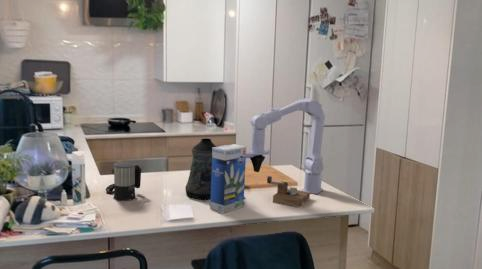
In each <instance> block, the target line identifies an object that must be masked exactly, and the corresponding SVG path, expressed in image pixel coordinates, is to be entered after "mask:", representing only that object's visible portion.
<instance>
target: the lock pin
mask: <svg viewBox="0 0 482 269" xmlns="http://www.w3.org/2000/svg"><path fill="white" fill-rule="evenodd" d="M272 178H273V176H271V175H269V176H268V175H267V177H266V182H267V184H270V185H274V186H278V183H281V184H284V183H282V182H281V181H275V180H272Z"/></svg>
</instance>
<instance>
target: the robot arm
mask: <svg viewBox="0 0 482 269" xmlns="http://www.w3.org/2000/svg"><path fill="white" fill-rule="evenodd" d="M322 106H323V105H322V104H321V103H320V102H319V101H318V99H313V98H310V97H304V98H302V99H301V98H300V99H298V100H296V101H294V102H292V103H290V104H288V105H286V106H283V107H282V108H280V109H278V108H274V107H271V108H270V109H269V110H268V111H266V112H261V113H260V114H256V115H254V116H253V117H252V118H251V120H250V125H251V126H252V132H251V148H250V149H251V150H250V151H248V152H246V159H250V161H251V163H252V168H253V172H255V173H259V172H260V171H261V167H262V165H263V162H264V160H265V159H266V157H265V155H270V150H269V149H265V140H266V139H265V138H266V128H267V127H268V126H269V125H271V124H274V123H276V122H280V121H281V120H282V117H284V116H286V115H289V114H292V113H294V112H295V113H296V112H300V111H302V112H304V113H306V114H308V115H309V117H310V118H311V119H312V121H311V122H312V123H311V130H310V140H309V147H308V153H307V154H306V155H305V159H304V161H303V164H302V165H303V168H304V169H305V171H304V183H303V189H301V190H300V191H305V192H310V194H312V195H318V194H319V193H321V192H322V191H323V189H324V188H322V179H323V176H322V172H323V171H324V163H323V160H324V159H323V157H322V155H321V153H322V144H323V143H322V142H323V135H324V126H325V118H326V116H325V112H324V109H323V107H322Z"/></svg>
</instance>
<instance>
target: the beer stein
mask: <svg viewBox="0 0 482 269" xmlns="http://www.w3.org/2000/svg"><path fill="white" fill-rule="evenodd" d="M213 147H217V146H216V145H215V144H214V142H212V139H210V138H201V140H200V141H199V142H198V143H197V144H196V145H195V146H193V147H192V148H191V153H192V158H191V160H192V161H191V163H190V164H191V165H190V170H189V175H188V179H187V182H186V185H185V193H186V194H185V195H186V197H187V198H189V199H192V200H196V201H210V199H211V174H212V148H213Z"/></svg>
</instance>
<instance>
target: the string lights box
mask: <svg viewBox="0 0 482 269" xmlns="http://www.w3.org/2000/svg"><path fill="white" fill-rule="evenodd" d="M246 153H247V145H246V146H245V145H241V144H236V143H233V144H224V145H220V146H216V147H213V148H212V174H211V199H210V200H209V201H210V202H209V209H210V210H212V211H215V212H218V213H221V214H224V213H228V212H230V211H235V210H237V209H241V208H244V204H245V203H244V201H245V186H246V184H245V182H246V181H245V180H246V162H247V161H246V160H247V158H246Z"/></svg>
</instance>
